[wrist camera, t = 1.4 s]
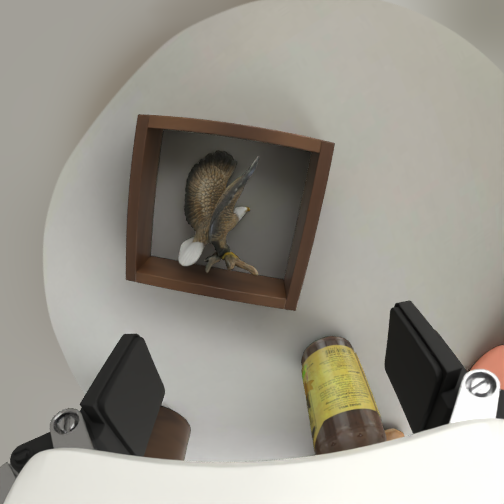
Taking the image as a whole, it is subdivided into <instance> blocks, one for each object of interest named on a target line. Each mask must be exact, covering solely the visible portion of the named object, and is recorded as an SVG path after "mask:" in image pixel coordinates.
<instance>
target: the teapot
mask: <svg viewBox="0 0 504 504" xmlns="http://www.w3.org/2000/svg"><path fill="white" fill-rule="evenodd" d="M474 369H485V370H488V371H491V372H492V373H494V374H495V375H496V376H497V377H498V379H499V381H500V389H502V390H504V345H500V346H497V347H495V348H493V349H491V350H490V351H488V352H487V353H486V354H484V355H483V356H482V357H481V358H480V359H479V360H478V361H477V362H476V363H475V364H474V365H473V367H472V368H471V370H474ZM471 370H470V371H471Z"/></svg>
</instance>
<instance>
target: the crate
mask: <svg viewBox="0 0 504 504" xmlns="http://www.w3.org/2000/svg"><path fill="white" fill-rule="evenodd" d="M163 130H173V131H184V132H193V133H202V134H210V135H217V136H225V137H232V138H238V139H245V140H251V141H257V142H263V143H268V144H274V145H279V146H284V147H289V148H294V149H299V150H304V151H309V152H311V155H310V160H309V165H308V170H307V175H306V180H305V185H304V190H303V195H302V200H301V204H300V209H299V214H298V218H297V223H296V228H295V232H294V237H293V241H292V246H291V250H290V255H289V259H288V263H287V268H286V272H285V276H284V280H283V279H278V278H272V277H266V276H260V275H257V276H256V275H253V274H249V273H243V272H237V271H231V270H225V269H220V268H214V267H211V268H210V270H209V272H208V273H207V272H206V270H205V269H206V266H203V265H197V264H192V265H189V266H182V265H181V264H180V263H179V261H175V260H170V259H165V258H159V257H154V256H151V241H152V226H153V213H154V202H155V191H156V182H157V173H158V165H159V157H160V149H161V142H162V135H163ZM334 145H335V143H332V142H328V141H324V140H320V139H315V138H311V137H306V136H302V135H297V134H292V133H287V132H282V131H277V130H271V129H266V128H260V127H254V126H248V125H241V124H234V123H227V122H220V121H212V120H203V119H194V118H183V117H172V116H158V115H140V114H139V115H138V118H137V125H136V132H135V139H134V147H133V155H132V164H131V174H130V185H129V197H128V213H127V234H126V280H129V281H134V282H138V283H143V284H148V285H153V286H157V287H162V288H167V289H172V290H177V291H182V292H187V293H193V294H198V295H203V296H209V297H214V298H220V299H225V300H231V301H237V302H243V303H249V304H255V305H261V306H267V307H274V308H280V309H286V310H293V311H295V310H296V307H297V304H298V300H299V296H300V293H301V289H302V285H303V281H304V277H305V274H306V270H307V266H308V262H309V258H310V254H311V250H312V246H313V242H314V238H315V233H316V229H317V225H318V221H319V216H320V212H321V207H322V203H323V199H324V194H325V189H326V185H327V180H328V175H329V170H330V166H331V161H332V156H333V151H334Z"/></svg>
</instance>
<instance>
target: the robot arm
mask: <svg viewBox="0 0 504 504" xmlns="http://www.w3.org/2000/svg"><path fill="white" fill-rule="evenodd" d="M385 370H386V373H387V375H388V377H389V379H390V382H391V384H392V386H393V388H394V390H395V393H396V395H397V397H398V399H399V402H400V404H401V406H402V408H403V411H404V413H405V415H406V418H407V420H408V422H409V425H410V427H411V430H412V432H413V434H412V435H408V436H405V437H401V438H397V439H394V440H390V441H386V442H382V443H377V444H373V445H369V446H365V447H360V448H355V449H350V450H345V451H340V452H334V453H328V454H321V455H315V456H307V457H299V458H290V459H279V460H266V461H245V462H202V461H181V460H168V459H157V458H148V457H143V456H144V454H145V451H146V448H147V444H148V441H149V438H150V436H151V433H152V430H153V427H154V424H155V421H156V418H157V415H158V412H159V409H160V406H161V403H162V401H163V398H164V395H165V388H164V385H163V383H162V381H161V378H160V376H159V374H158V372H157V369H156V367H155V365H154V362H153V360H152V358H151V355H150V353H149V350H148V348H147V345H146V343H145V340H144V339H143V338H142V337H140V336H139V335H138V334H124V335H123V336H122V337H121V339H120V340H119V342H118V343H117V345H116V346H115V348H114V350H113V351H112V353H111V354H110V356H109V357H108V359H107V360H106V362H105V364H104V365H103V367H102V368H101V370H100V372H99V373H98V375H97V376H96V378H95V380H94V381H93V383H92V385H91V386H90V388H89V390H88V391H87V393H86V395H85V396H84V398H83V400H82V402H81V403H80V405H81V407H82V408H81V410H80V411H78V410H77V409H73V408H68V409H64V410H62V411H60V412H58V413H57V414H56V415H55V416H54V417H53V419H52V420H51V423H50V432H49V433H46V434H44V435H42V436H40V437H38V438H35V439H33V440H31V441H29V442H26V443H24V444H22V445H20V446H18V447H17V448H16V449H15V450H14V451H13V453H12V454H11V458H10V463H11V464H8V462H6V463H5V464H3V465H2V466H1V467H0V504H504V390H502V389H500V381H499V379H498V377H497V376H496V375H495V374H494V373H492V372H491V371H488V370H485V369H474V370H471V371H469V372H467V371H466V369H465V368H464V367H463V365H462V364H461V362H460V361H459V360H458V358H457V357H456V356H455V354H454V353H453V352H452V350H451V349H450V348H449V346H448V345H447V344H446V343H445V341H444V340H443V339H442V337H441V336H440V335H439V334H438V332H437V331H436V330H434V329H433V328H432V326H431V325H430V324H429V323H428V321H427V320H426V319H425V318H424V316H423V315H422V314H421V313H420V312H419V310H418V309H417V308H416V307H415V305H414V304H413V303H412V302H411V301H405V302H400V303H396V304H395V306H394V308H391V310H390V320H389V331H388V340H387V348H386V356H385Z"/></svg>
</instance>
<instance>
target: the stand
mask: <svg viewBox="0 0 504 504" xmlns="http://www.w3.org/2000/svg"><path fill="white" fill-rule="evenodd" d="M190 432H191V428H190V425H189V423H188V422H187V421H186V420H185V419H184V418H183V417H182V416H181V415H179V414H178V413H176V412H175V411H173V410H170V409H168V408H165V407H162V406H160V409H159V412H158V415H157V418H156V421H155V424H154V427H153V430H152V433H151V436H150V438H149V441H148V444H147V448H146V451H145V454H144V456H143V457H148V458H157V459H168V460H181V461H184V458H185V454H186V450H187V445H188V441H189V436H190Z"/></svg>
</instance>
